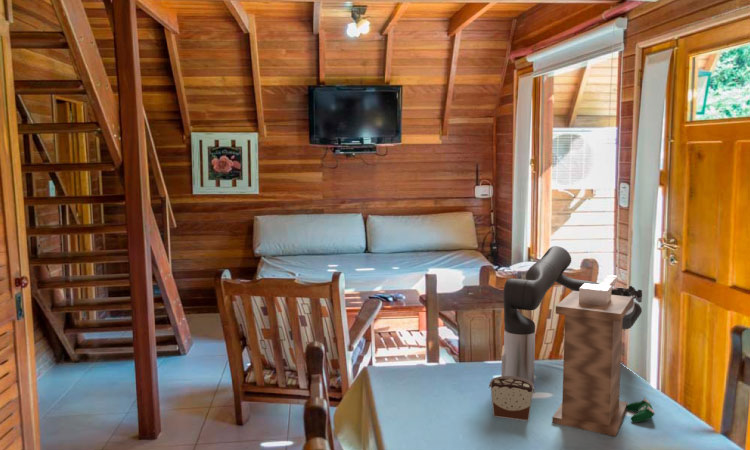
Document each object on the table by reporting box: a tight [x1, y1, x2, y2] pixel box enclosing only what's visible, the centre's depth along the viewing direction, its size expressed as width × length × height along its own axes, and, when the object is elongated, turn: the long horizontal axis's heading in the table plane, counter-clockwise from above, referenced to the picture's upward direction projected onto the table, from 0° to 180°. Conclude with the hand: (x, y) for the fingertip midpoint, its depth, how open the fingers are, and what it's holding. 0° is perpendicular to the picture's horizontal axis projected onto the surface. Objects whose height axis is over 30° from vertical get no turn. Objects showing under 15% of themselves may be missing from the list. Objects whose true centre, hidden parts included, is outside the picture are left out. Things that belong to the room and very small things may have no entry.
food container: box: [488, 376, 536, 422], centre depth 168 cm, size 12×6×10 cm, turn 71°
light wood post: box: [579, 274, 618, 306], centre depth 174 cm, size 7×32×4 cm, turn 150°
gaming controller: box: [626, 397, 655, 423], centre depth 166 cm, size 9×4×6 cm
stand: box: [551, 290, 632, 437], centre depth 166 cm, size 16×20×32 cm
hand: (615, 287), depth 192 cm, fingers open, 8 cm apart
